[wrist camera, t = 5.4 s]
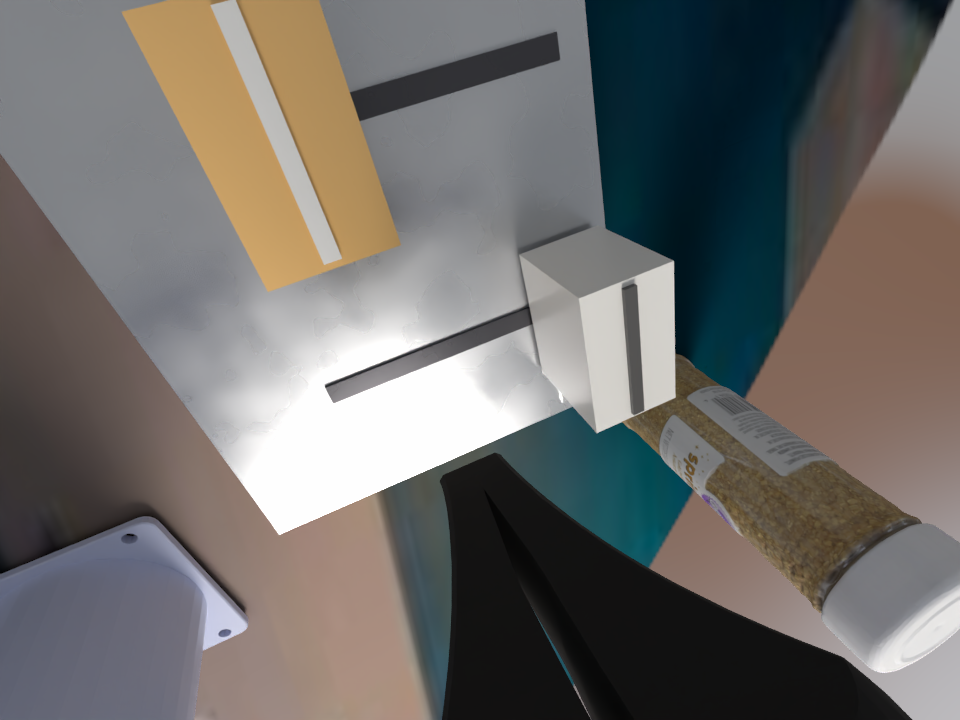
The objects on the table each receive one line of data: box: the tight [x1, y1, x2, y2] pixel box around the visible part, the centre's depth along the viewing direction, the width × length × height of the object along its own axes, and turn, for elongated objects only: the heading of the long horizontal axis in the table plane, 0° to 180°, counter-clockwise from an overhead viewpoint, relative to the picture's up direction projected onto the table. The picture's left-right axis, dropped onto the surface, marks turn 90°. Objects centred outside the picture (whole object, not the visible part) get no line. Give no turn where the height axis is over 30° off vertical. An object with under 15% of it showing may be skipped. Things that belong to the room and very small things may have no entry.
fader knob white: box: [519, 225, 676, 433], centre depth 17 cm, size 3×5×4 cm, turn 13°
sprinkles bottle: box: [622, 353, 960, 673], centre depth 20 cm, size 5×5×14 cm
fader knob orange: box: [122, 0, 401, 292], centre depth 11 cm, size 3×5×4 cm, turn 13°
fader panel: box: [0, 0, 605, 534], centre depth 16 cm, size 15×18×2 cm
